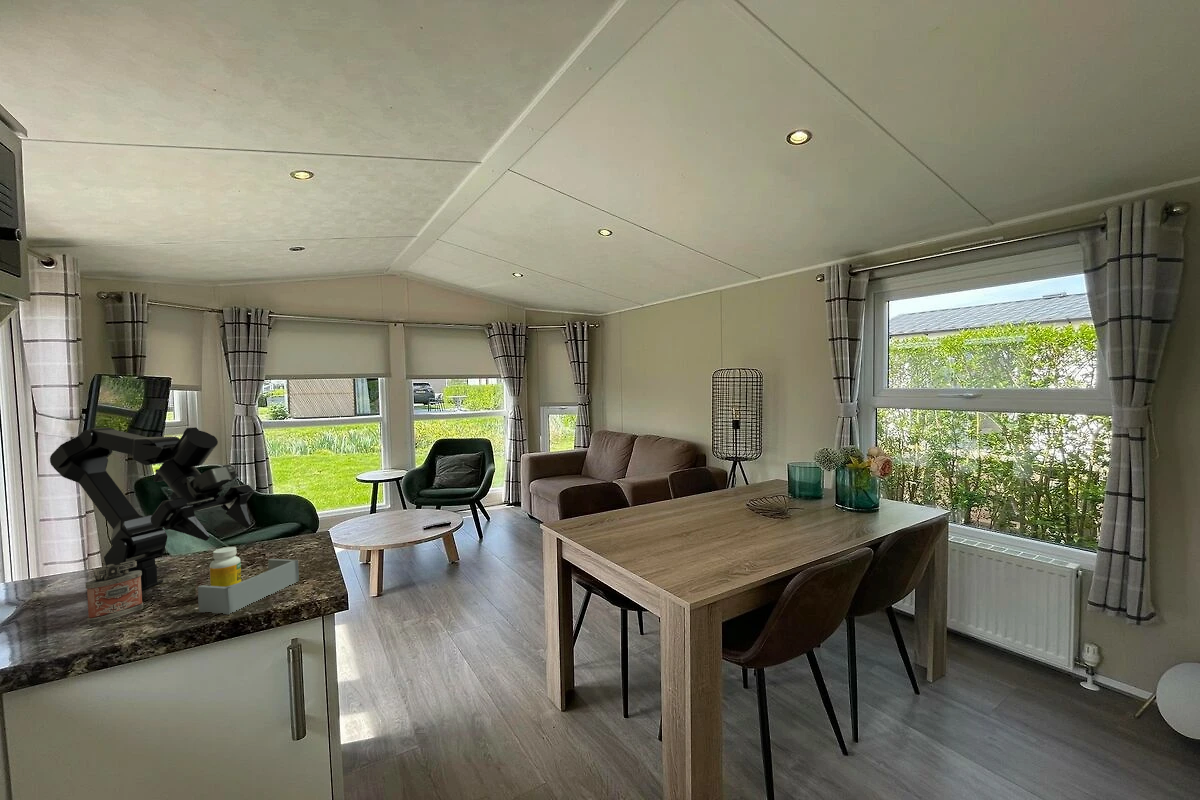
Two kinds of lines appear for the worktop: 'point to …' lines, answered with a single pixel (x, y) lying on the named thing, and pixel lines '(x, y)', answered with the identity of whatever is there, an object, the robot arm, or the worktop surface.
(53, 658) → the worktop surface
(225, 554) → the supplement bottle
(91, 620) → the lighter
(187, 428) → the robot arm
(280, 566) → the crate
